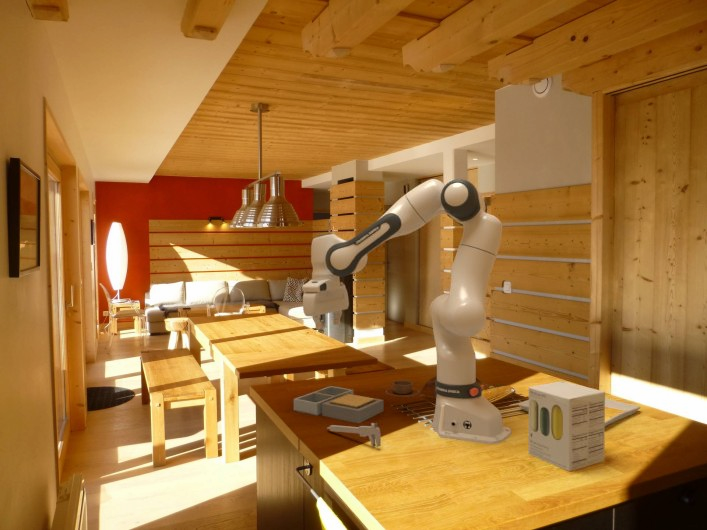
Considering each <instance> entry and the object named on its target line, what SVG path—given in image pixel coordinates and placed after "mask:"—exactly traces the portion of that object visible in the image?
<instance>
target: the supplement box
mask: <svg viewBox="0 0 707 530" xmlns="http://www.w3.org/2000/svg"><path fill="white" fill-rule="evenodd" d="M605 398H606V391H602V390H600V389H596V388H592V387H587V386H584V385H581V384H580V385H579V384H577V383H572V382H568V381H564V380H561V381H554V382H550V383H544V384H537V385H533V386H529V387H528V400H529V412H528V453H527V454H528V455H530V456H532V457H535V458H537V459H539V460H542V461H543V462H546V463H549V464H551V465H553V466H555V467H558V468H560V469H563V470H565V471H568V472H572V471H575V470H579V469H583V468H585V467H589V466H592V465H595V464H599V463H602V462H605V440H606V439H605V434H606V433H605V432H606V431H605V427H606V426H605V421H606V418H605V417H606V409H605V408H606V407H605Z"/></svg>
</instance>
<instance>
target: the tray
mask: <svg viewBox="0 0 707 530" xmlns="http://www.w3.org/2000/svg"><path fill="white" fill-rule="evenodd" d="M346 394H352V395H354V389H350V388H344V387H339V386H335V385H334V386H332V385H331V386H326V387H324V388H321V389H319V390H316V391H312V392H310V393H307V394H304V395H302V396H298V397H295V398H293V411H295V412H297V413H302V414H303V413H304V414H308V415H313V416H317V417H318V416H320V415H322V403H325V402H327V401H330V400H333V399H335V398H338V397H340V396H343V395H346Z"/></svg>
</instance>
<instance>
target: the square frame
mask: <svg viewBox="0 0 707 530" xmlns="http://www.w3.org/2000/svg"><path fill="white" fill-rule="evenodd" d="M346 395H348V394H346ZM346 395H343V396H346ZM351 395H352V394H351ZM356 395H357V394H356ZM343 396H340V397H343ZM357 396H359V395H357ZM361 396H362V395H361ZM340 397H338V398H340ZM362 397H365V396H364V395H363V396H362ZM367 397H368V398H370V397H369V396H367ZM338 398H335V399H338ZM372 398H373V399H375V402H372V403H370V404H368V405H365V406H363V407H361V408H358V409H356V408H351V407H345V406H340V405H335V404H331V401H333V400H335V399H333V400H330V401H327V402H325V403H322V414H321V416H323V417H328V418H332V419H337V420H341V421H345V422H350V423H354V424H355V423H356V424H360V423H363V422H364V421H367V420H369V419H371V418H373V417H374V416H377V415H378V414H381V413H383V412H385V411H384V406H385V405H384V399H381V398H374V397H372Z"/></svg>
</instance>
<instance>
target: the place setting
mask: <svg viewBox="0 0 707 530" xmlns="http://www.w3.org/2000/svg"><path fill="white" fill-rule="evenodd" d="M390 390H392V391H393V392H394V393H395V394H392V393H389V392H388V391H390ZM413 390H415V391H416V392H417V393H416V394H411V392H412V391H413ZM385 393H386V394H387V395H390V396H393V397H401V398H402V397H403V398H404V397H405V398H406V397H407V398H411V396H412V397H415V395H416V396H418V395H420V390H419V389H417V388H413V382H412V381H409V380H395V381H392V387H391V388H388V389H386V390H385ZM409 394H410V395H409Z"/></svg>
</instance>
